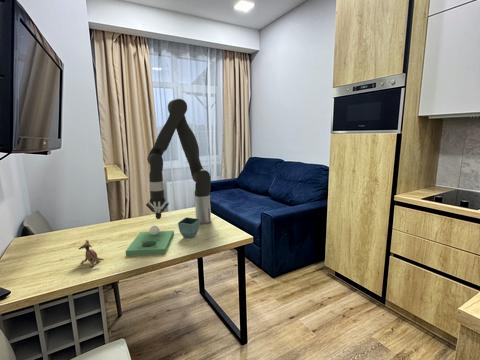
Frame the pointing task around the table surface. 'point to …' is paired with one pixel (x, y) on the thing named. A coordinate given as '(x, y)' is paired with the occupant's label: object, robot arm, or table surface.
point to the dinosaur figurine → (90, 254)
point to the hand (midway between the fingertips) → (158, 218)
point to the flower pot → (189, 227)
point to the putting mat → (150, 243)
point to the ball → (154, 230)
